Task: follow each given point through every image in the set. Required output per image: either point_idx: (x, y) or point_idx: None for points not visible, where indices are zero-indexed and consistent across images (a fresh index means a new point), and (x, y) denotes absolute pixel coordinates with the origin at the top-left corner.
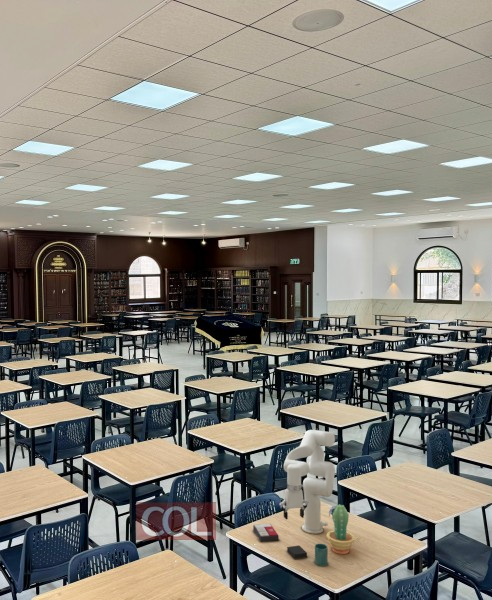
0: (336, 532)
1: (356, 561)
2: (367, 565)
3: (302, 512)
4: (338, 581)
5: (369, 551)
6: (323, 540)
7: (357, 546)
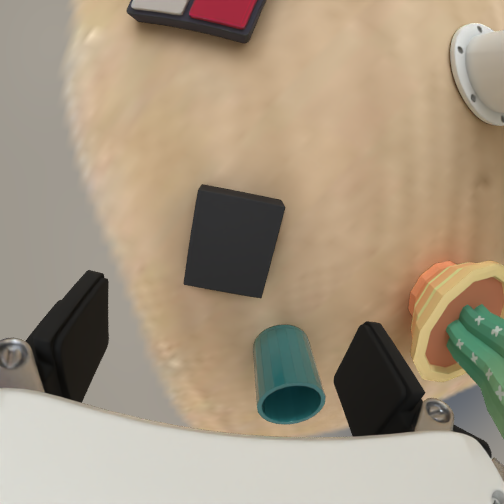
0: (463, 351)
1: None
2: None
3: (354, 436)
4: None
5: None
6: (458, 185)
7: None
